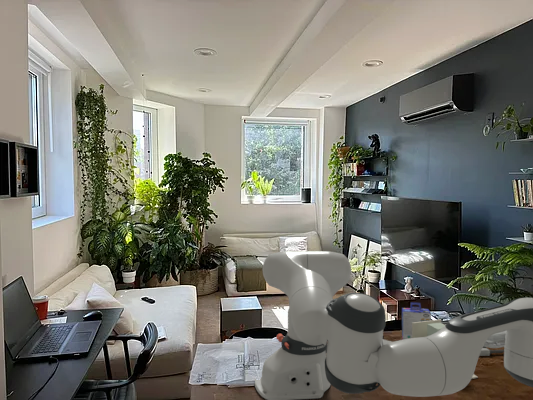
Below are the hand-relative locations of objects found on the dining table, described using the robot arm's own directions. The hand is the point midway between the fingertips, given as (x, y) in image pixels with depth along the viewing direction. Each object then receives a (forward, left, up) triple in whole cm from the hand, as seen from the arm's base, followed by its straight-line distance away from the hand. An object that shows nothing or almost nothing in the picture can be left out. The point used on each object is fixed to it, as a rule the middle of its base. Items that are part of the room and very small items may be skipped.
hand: (481, 322), depth 108 cm
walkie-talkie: (+20, +22, -20) cm, 37 cm away
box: (0, +17, -20) cm, 26 cm away
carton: (0, +14, -20) cm, 24 cm away
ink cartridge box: (+5, +35, -20) cm, 40 cm away
